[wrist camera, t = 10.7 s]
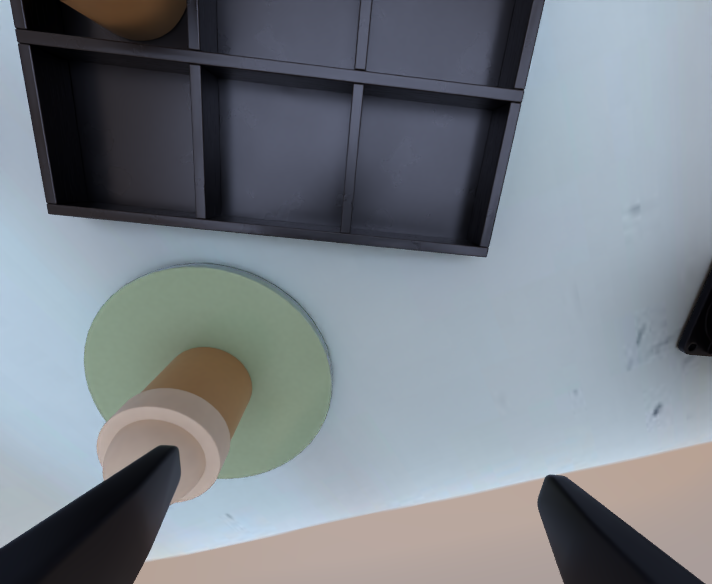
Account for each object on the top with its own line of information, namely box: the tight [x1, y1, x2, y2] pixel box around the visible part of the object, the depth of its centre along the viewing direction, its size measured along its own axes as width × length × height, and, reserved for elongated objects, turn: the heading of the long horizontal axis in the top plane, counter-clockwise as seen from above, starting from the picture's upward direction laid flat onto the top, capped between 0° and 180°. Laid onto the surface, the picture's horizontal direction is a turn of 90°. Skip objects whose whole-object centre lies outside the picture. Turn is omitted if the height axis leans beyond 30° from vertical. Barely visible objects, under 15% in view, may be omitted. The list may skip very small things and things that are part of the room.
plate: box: [84, 263, 332, 479], centre depth 21 cm, size 15×15×1 cm
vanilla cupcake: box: [97, 347, 252, 505], centre depth 17 cm, size 6×6×8 cm
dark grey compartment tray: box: [10, 0, 545, 257], centre depth 15 cm, size 14×21×2 cm
